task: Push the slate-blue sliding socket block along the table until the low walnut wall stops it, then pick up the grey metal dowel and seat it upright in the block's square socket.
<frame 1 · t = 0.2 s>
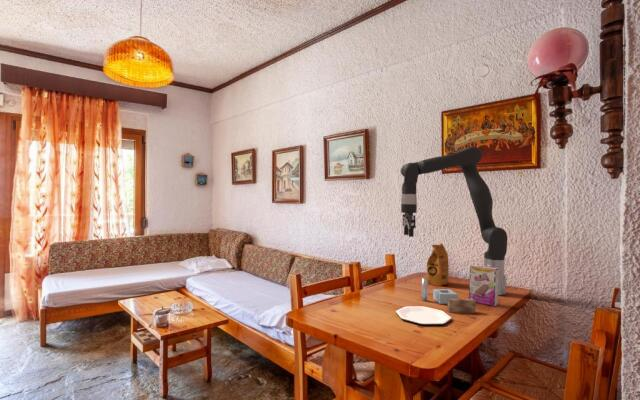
hand: (408, 235, 171), 28 cm above the table, tool pointing down, fingers open, 8 cm apart
coffee package: (437, 283, 190), on the table
wall: (461, 311, 143), on the table
candy bar box: (483, 303, 155), on the table
dowel: (424, 300, 157), on the table
plate: (422, 318, 135), on the table
block: (445, 296, 156), point 2 cm above the table, slide at 0.0 cm
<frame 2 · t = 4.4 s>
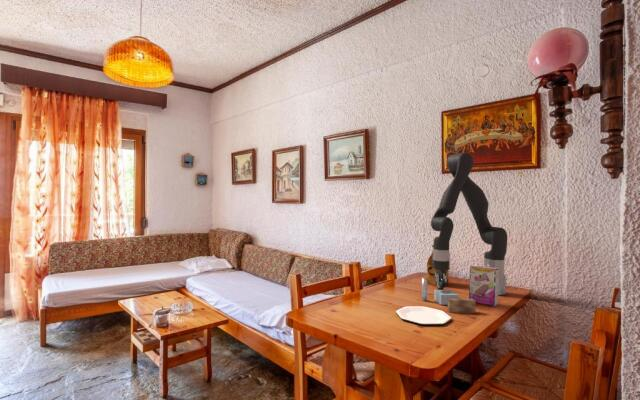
hand: (440, 295, 161), 1 cm above the table, tool pointing down, fingers closed
block: (446, 297, 155), point 2 cm above the table, slide at 1.3 cm, touching gripper
everything else where it was.
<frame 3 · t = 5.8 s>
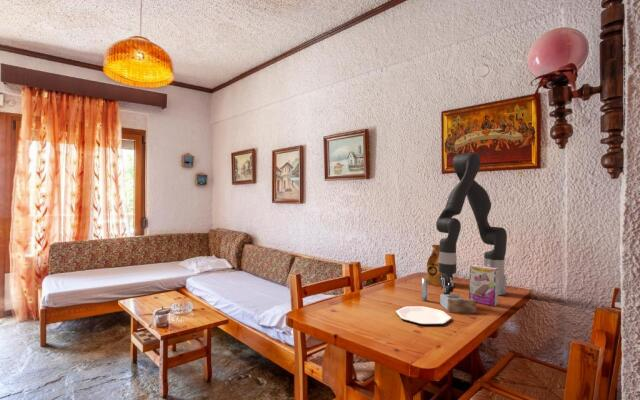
hand: (446, 300, 154), 1 cm above the table, tool pointing down, fingers closed
block: (453, 302, 147), point 2 cm above the table, slide at 8.7 cm, touching gripper, wall
everything else where it was.
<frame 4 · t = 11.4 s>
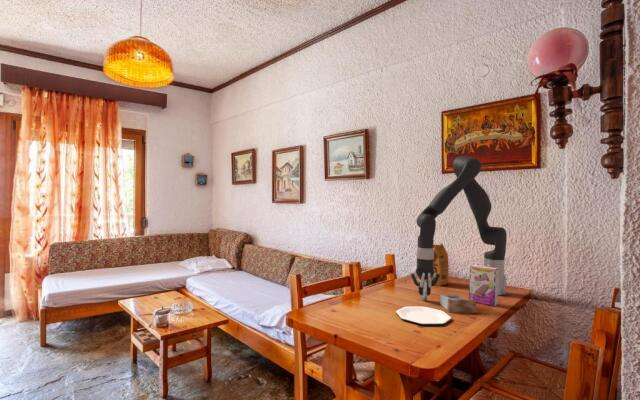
hand: (424, 294, 157), 3 cm above the table, tool pointing down, fingers closed on dowel, 2 cm apart
dowel: (424, 300, 157), on the table, touching gripper
block: (453, 302, 147), point 2 cm above the table, slide at 8.7 cm, touching wall
everything else where it was.
when the fingers open (5 cm above the table, at t = 16.1 s): dowel drops 1 cm, resting on block.
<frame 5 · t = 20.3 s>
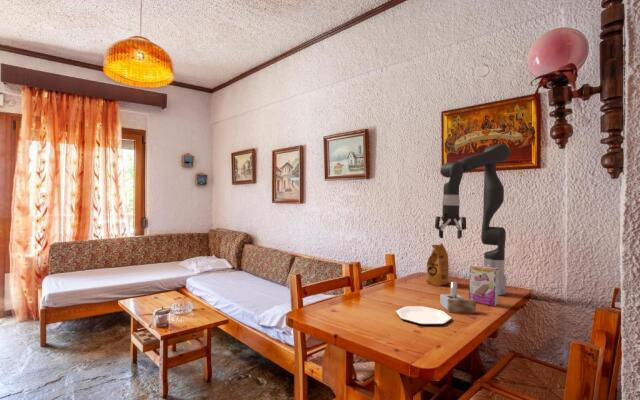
hand: (450, 238, 164), 28 cm above the table, tool pointing down, fingers open, 8 cm apart
dowel: (453, 305, 147), point 1 cm above the table, touching block
block: (453, 302, 147), point 2 cm above the table, slide at 8.7 cm, touching dowel, wall
everything else where it was.
at the end: block slide at 8.7 cm; dowel 0.1 cm off-centre on the block, point 0.8 cm above the block's base; dowel tilted 1° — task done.
